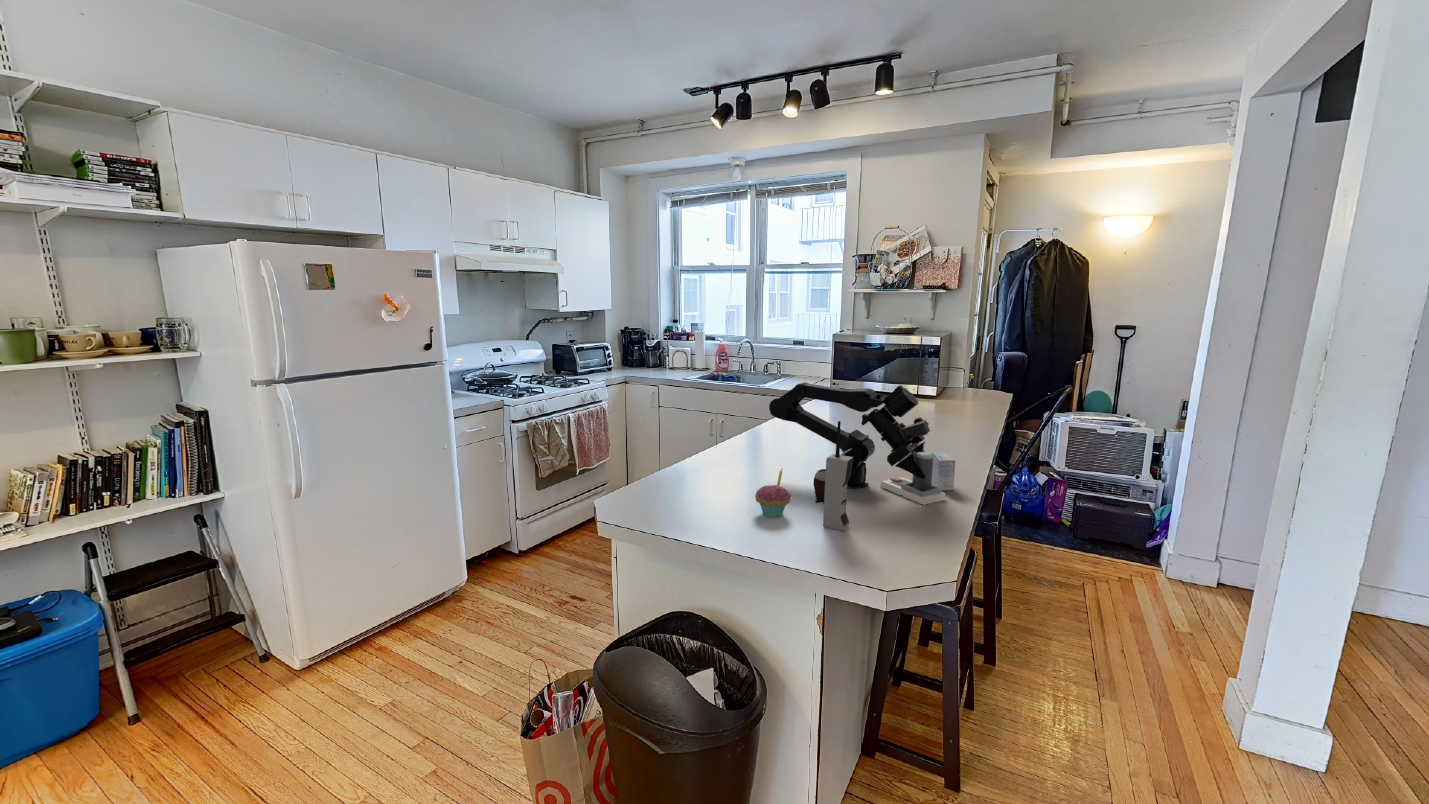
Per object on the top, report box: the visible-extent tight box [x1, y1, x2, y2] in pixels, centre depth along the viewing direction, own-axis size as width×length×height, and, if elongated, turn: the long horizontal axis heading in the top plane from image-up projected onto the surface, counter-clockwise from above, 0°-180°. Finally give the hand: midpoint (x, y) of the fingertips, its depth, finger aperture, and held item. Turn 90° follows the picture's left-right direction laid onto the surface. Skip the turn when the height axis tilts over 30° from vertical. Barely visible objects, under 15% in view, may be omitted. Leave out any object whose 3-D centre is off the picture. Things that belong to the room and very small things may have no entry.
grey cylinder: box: [911, 451, 933, 491], centre depth 151 cm, size 5×5×10 cm
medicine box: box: [930, 452, 956, 491], centre depth 160 cm, size 8×4×9 cm, turn 179°
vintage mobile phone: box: [822, 420, 853, 532], centre depth 129 cm, size 4×5×25 cm
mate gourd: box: [813, 448, 852, 504], centre depth 146 cm, size 8×8×15 cm
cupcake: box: [754, 467, 792, 519], centre depth 138 cm, size 9×8×12 cm
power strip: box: [880, 476, 946, 506], centre depth 154 cm, size 8×15×3 cm, turn 28°
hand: (927, 473), depth 150 cm, fingers open, 8 cm apart
